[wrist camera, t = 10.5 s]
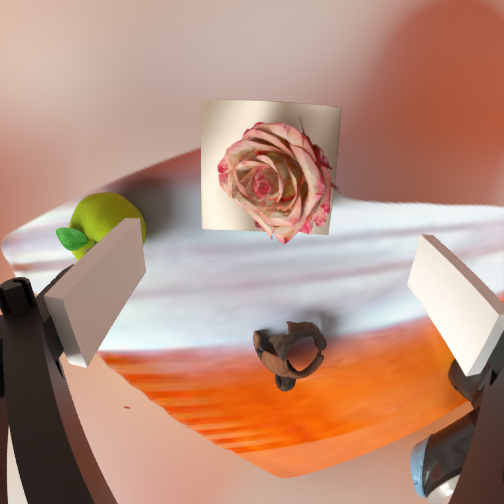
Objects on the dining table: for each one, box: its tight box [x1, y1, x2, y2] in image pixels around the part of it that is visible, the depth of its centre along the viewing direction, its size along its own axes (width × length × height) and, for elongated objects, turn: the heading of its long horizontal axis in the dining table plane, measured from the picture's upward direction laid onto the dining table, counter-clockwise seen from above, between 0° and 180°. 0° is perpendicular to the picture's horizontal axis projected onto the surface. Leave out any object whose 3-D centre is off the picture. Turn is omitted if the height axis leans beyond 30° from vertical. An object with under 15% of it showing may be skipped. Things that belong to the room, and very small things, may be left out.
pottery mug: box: [253, 321, 326, 392], centre depth 43 cm, size 12×10×8 cm
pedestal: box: [201, 100, 341, 235], centre depth 30 cm, size 12×12×8 cm
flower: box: [217, 115, 340, 245], centre depth 24 cm, size 10×9×8 cm
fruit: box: [56, 193, 146, 261], centre depth 33 cm, size 9×9×10 cm
